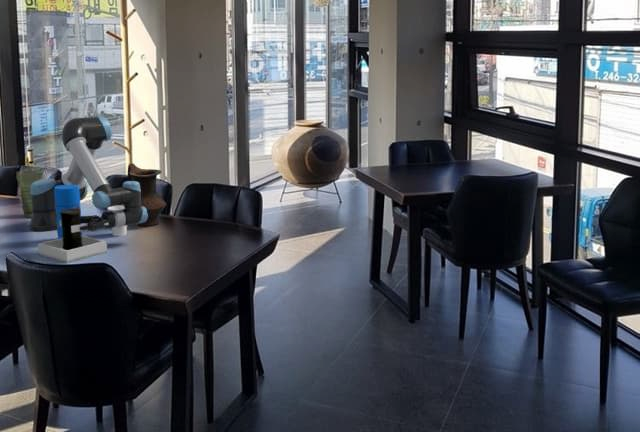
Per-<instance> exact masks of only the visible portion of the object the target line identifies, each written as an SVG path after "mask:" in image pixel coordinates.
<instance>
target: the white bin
mask: <svg viewBox="0 0 640 432" xmlns="http://www.w3.org/2000/svg"><path fill="white" fill-rule="evenodd" d="M81 236H82V244H83V246H82V247H78V248H75V249H71V250H64V249H63V248H62V246H63V238H60V239H58V238H57V239H51V240H48V241H44V242H39V243H37V247H38V255H39V254H40V255H39V256H41V255H43V256H42V257H45V256H46V257H45V258H48V257H50V258H49V259H52V258H53V260H55V259H56V261H59V262H62V261H63V263H67V264H69V262H70V263H73V262H76V260H77V261H79V260H80V261H81V260H84V259H87V258H91V257H95V256H99V255H103V254H105V253H108V247H107V246H108V245H107V240H103V239H99V238H95V237H91V236H86V235H83V234H82V235H81ZM72 261H73V262H72Z"/></svg>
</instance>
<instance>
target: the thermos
mask: <svg viewBox="0 0 640 432" xmlns="http://www.w3.org/2000/svg"><path fill="white" fill-rule="evenodd" d="M54 196H55V209H56V221H57V229H56V230H57V231H56V232H57V239H60V238H63V233H62V226H60V221H59V220H62V218H61V215H60V211H62V210H66V209H79V210H80V211H81V213H80V216H82V209H81V208H82V207H81V201H80V193H79V186H78V185H60V186H56V187H54ZM82 224H83V223H81V225H82ZM81 235H83V231H81Z"/></svg>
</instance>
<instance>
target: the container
mask: <svg viewBox="0 0 640 432" xmlns="http://www.w3.org/2000/svg"><path fill="white" fill-rule="evenodd" d="M80 213H81V214H82V210H81V211H80V210H79V209H66V210H62V211H60V215H61V218H62V221H61V222H62V233H63V246H62V248H63V249H64V250H71V249H75V248H78V247H82V246H83V244H82V236H81V231H80V232H73V233H72V232H71V226H75V225H81V223H80V221H81V220H80Z"/></svg>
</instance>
